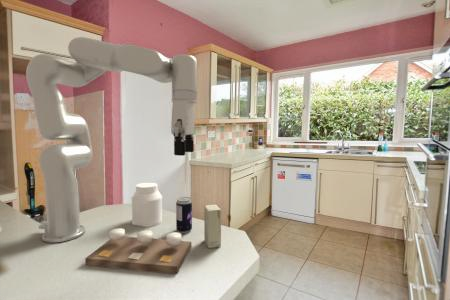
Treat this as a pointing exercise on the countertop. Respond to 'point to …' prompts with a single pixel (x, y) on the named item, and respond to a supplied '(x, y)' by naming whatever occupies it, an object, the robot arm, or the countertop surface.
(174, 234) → the button right
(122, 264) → the button board
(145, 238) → the button middle
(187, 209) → the beverage can
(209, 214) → the skincare box
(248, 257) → the countertop surface
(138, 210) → the jar
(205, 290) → the countertop surface
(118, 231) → the button left
